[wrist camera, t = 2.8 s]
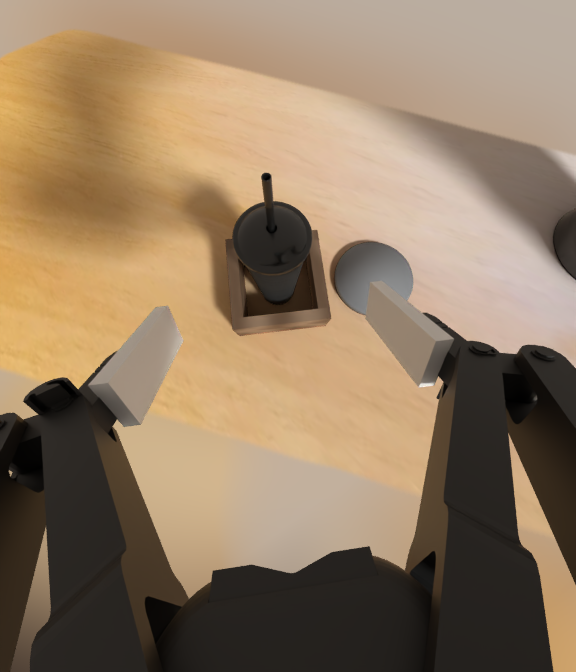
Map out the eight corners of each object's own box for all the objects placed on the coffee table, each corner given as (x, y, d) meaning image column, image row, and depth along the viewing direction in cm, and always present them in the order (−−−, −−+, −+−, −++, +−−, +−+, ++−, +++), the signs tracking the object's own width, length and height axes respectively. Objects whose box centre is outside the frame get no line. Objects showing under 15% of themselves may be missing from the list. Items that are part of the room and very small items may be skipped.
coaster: (401, 241, 36) (404, 238, 35) (417, 311, 34) (420, 310, 33) (329, 249, 36) (330, 246, 35) (341, 320, 34) (342, 319, 33)
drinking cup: (266, 322, 33) (237, 247, 14) (245, 279, 35) (191, 154, 15) (310, 300, 34) (344, 199, 14) (288, 259, 35) (291, 114, 16)
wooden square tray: (313, 248, 36) (317, 229, 31) (325, 325, 33) (331, 318, 29) (233, 256, 35) (225, 239, 31) (239, 335, 33) (232, 329, 29)
